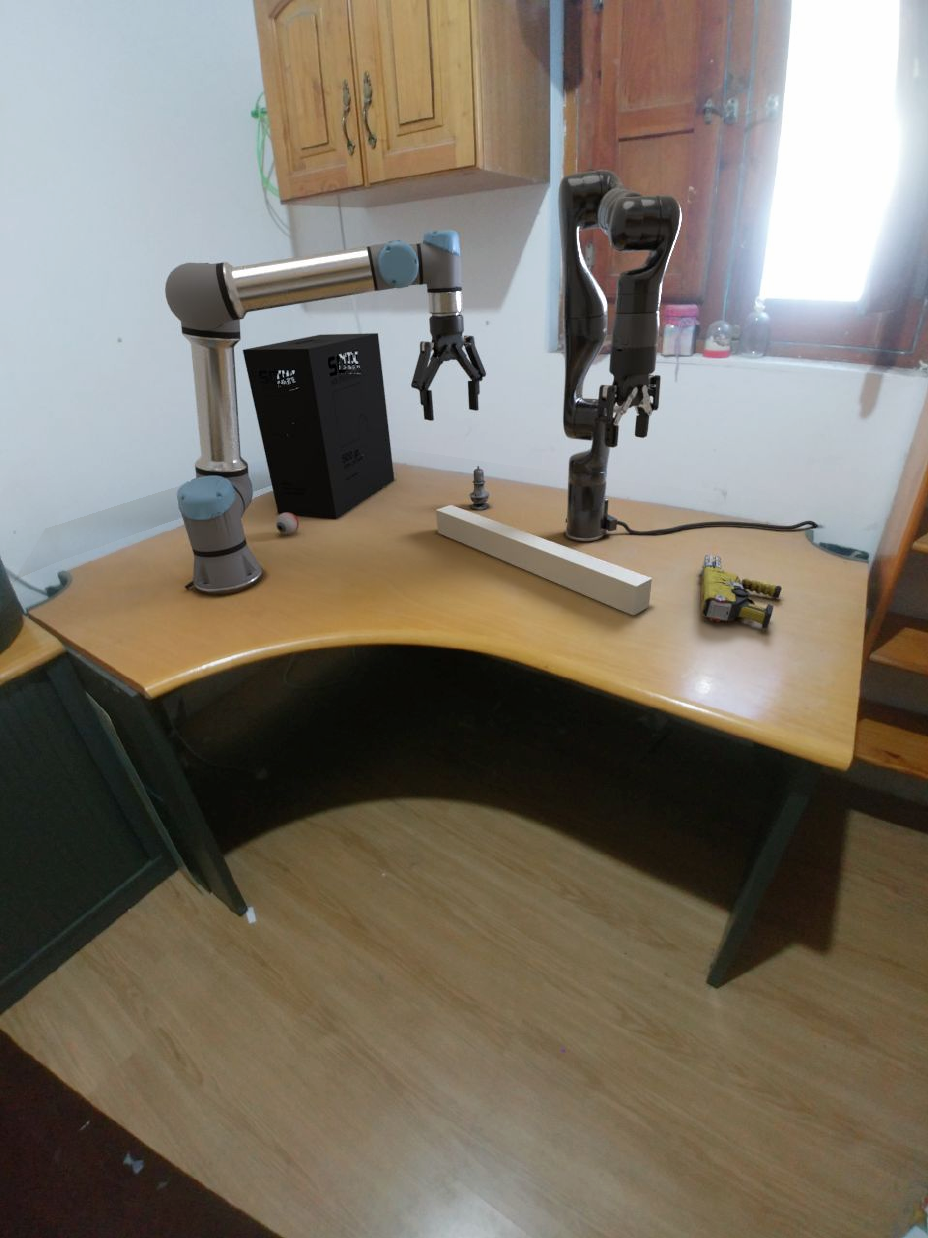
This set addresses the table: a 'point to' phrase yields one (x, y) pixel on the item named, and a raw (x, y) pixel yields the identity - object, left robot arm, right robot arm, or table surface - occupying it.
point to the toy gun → (732, 595)
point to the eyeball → (287, 523)
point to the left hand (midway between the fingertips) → (452, 414)
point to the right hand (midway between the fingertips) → (626, 441)
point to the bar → (548, 560)
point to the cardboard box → (322, 421)
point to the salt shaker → (479, 491)
